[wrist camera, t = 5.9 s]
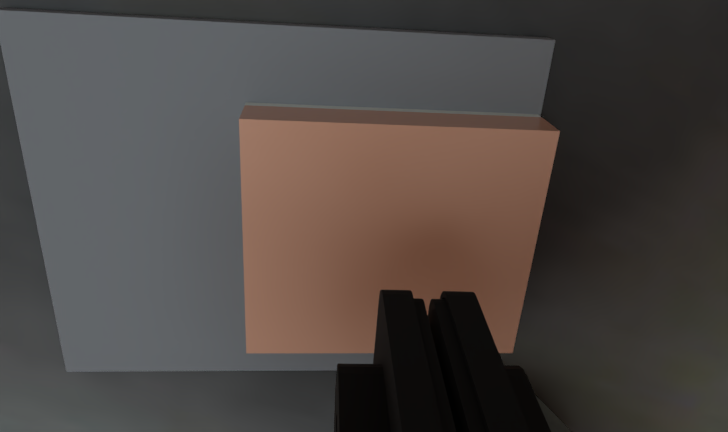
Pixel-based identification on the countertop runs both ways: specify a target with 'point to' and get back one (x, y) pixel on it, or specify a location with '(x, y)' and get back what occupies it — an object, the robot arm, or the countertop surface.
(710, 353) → the countertop surface
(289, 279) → the tile
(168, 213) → the mat
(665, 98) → the countertop surface
